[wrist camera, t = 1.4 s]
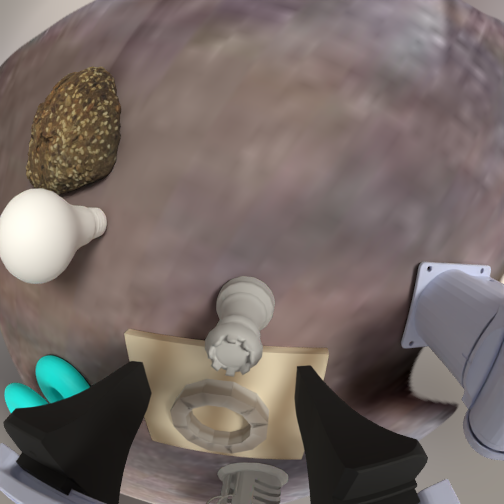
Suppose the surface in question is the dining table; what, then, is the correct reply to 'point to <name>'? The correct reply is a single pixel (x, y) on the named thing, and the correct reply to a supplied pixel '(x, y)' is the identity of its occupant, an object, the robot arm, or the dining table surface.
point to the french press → (251, 483)
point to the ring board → (222, 397)
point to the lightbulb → (45, 234)
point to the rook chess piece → (239, 325)
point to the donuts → (47, 384)
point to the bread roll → (75, 132)
